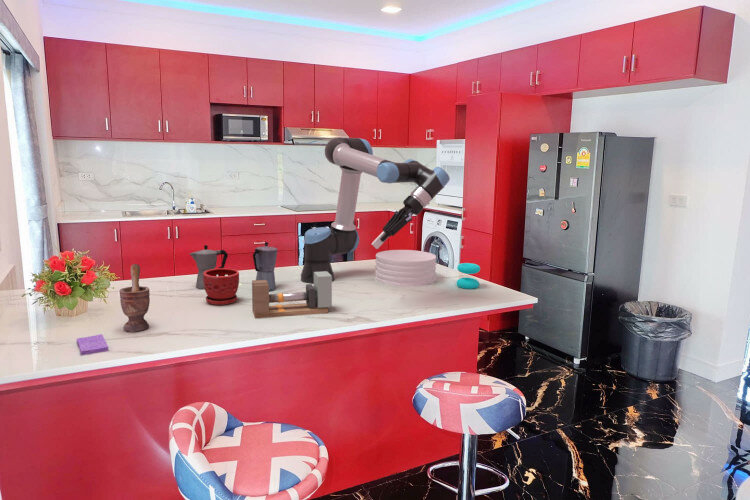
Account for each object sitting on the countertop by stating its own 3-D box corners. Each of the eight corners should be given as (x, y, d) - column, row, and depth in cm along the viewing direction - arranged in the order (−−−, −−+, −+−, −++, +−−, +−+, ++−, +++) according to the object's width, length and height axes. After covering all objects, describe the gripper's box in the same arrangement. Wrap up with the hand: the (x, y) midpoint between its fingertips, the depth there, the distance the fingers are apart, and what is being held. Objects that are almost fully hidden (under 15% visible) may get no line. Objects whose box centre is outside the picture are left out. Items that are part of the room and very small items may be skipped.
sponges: (81, 357, 145) (81, 350, 145) (76, 343, 155) (76, 337, 155) (109, 352, 149) (108, 346, 149) (102, 339, 159) (102, 333, 159)
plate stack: (445, 278, 247) (446, 254, 245) (417, 290, 224) (418, 264, 222) (394, 270, 262) (395, 247, 260) (363, 280, 239) (364, 256, 237)
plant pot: (196, 304, 196) (195, 273, 194) (219, 295, 208) (218, 266, 206) (225, 308, 191) (224, 276, 189) (246, 299, 203) (246, 269, 201)
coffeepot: (191, 290, 214) (189, 247, 211) (190, 285, 223) (188, 244, 219) (230, 287, 220) (229, 246, 217) (227, 282, 229) (226, 242, 225)
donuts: (464, 261, 236) (484, 264, 231) (462, 282, 238) (482, 286, 232) (453, 264, 229) (474, 268, 223) (452, 286, 230) (472, 290, 225)
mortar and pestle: (116, 324, 171) (112, 265, 167) (144, 320, 176) (140, 262, 173) (126, 334, 162) (122, 272, 158) (155, 329, 168) (151, 268, 164)
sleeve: (313, 301, 195) (313, 271, 193) (326, 300, 197) (326, 271, 195) (318, 307, 188) (318, 276, 186) (331, 306, 189) (331, 276, 187)
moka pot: (284, 286, 225) (283, 240, 221) (265, 295, 210) (264, 246, 207) (264, 284, 228) (264, 239, 224) (245, 292, 213) (244, 244, 210)
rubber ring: (306, 302, 194) (305, 284, 193) (311, 302, 194) (311, 284, 193) (309, 307, 187) (309, 289, 186) (315, 307, 188) (315, 288, 187)
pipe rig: (252, 310, 189) (251, 280, 187) (322, 305, 197) (322, 276, 195) (254, 318, 181) (254, 286, 179) (327, 312, 189) (328, 282, 187)
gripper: (430, 210, 192) (386, 256, 189) (416, 206, 204) (375, 250, 202) (417, 195, 189) (373, 242, 187) (404, 193, 201) (362, 237, 199)
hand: (374, 246), depth 194 cm, fingers closed
